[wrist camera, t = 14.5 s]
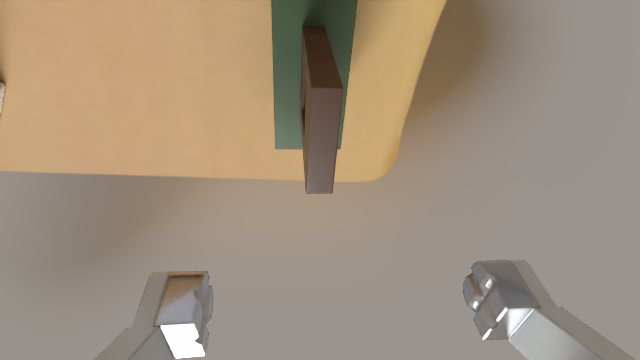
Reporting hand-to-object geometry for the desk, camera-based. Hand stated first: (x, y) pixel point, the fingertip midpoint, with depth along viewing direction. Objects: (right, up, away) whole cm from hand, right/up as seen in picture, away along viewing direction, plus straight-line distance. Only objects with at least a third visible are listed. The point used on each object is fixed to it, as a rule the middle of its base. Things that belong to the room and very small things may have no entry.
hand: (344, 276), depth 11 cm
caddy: (-2, +15, +19) cm, 24 cm away
